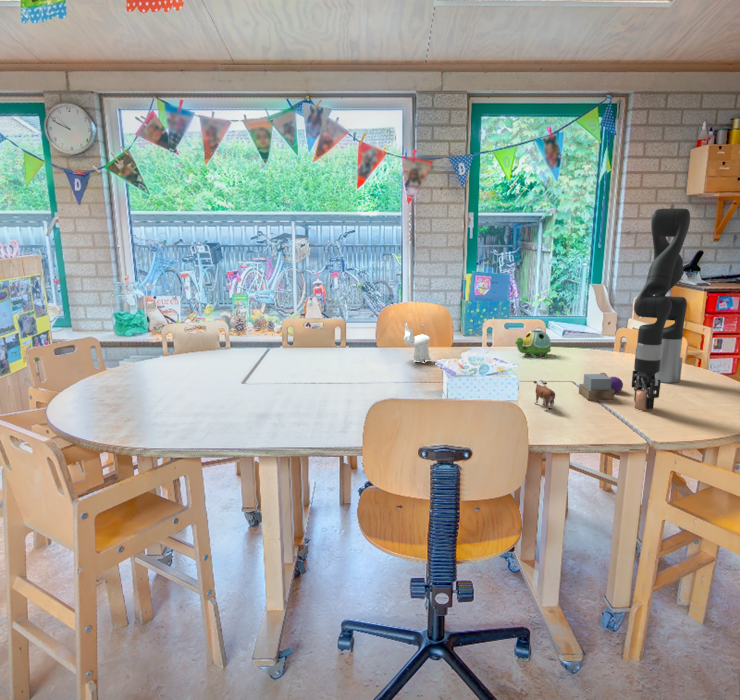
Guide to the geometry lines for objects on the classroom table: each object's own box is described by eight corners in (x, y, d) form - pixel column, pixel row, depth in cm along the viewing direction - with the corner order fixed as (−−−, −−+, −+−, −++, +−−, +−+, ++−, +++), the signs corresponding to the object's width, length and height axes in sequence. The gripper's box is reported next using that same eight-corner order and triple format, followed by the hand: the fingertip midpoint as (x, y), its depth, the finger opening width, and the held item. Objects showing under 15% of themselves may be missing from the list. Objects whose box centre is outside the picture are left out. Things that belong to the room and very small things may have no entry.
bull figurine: (542, 400, 192) (543, 377, 190) (556, 412, 179) (558, 388, 177) (530, 400, 192) (531, 378, 190) (543, 412, 179) (544, 388, 177)
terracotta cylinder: (646, 406, 184) (648, 389, 182) (654, 411, 179) (656, 393, 178) (631, 406, 184) (633, 389, 182) (639, 411, 179) (640, 393, 178)
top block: (602, 384, 198) (603, 373, 197) (610, 389, 191) (611, 378, 190) (583, 384, 198) (584, 374, 197) (590, 390, 191) (591, 379, 190)
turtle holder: (508, 354, 267) (509, 330, 265) (542, 351, 271) (543, 328, 269) (520, 359, 256) (522, 334, 253) (555, 357, 260) (557, 332, 257)
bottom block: (603, 394, 200) (604, 383, 199) (613, 401, 191) (614, 390, 190) (578, 394, 200) (579, 383, 199) (588, 401, 191) (588, 390, 190)
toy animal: (402, 357, 264) (400, 323, 260) (427, 355, 264) (426, 321, 261) (407, 367, 244) (405, 329, 241) (434, 365, 245) (433, 328, 241)
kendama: (612, 371, 216) (626, 380, 197) (608, 385, 217) (622, 396, 198) (597, 368, 217) (609, 376, 198) (593, 382, 218) (605, 392, 198)
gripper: (671, 361, 171) (666, 412, 174) (648, 352, 185) (644, 399, 188) (647, 361, 171) (642, 412, 174) (626, 352, 185) (622, 399, 188)
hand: (643, 405), depth 181 cm, fingers open, 7 cm apart
